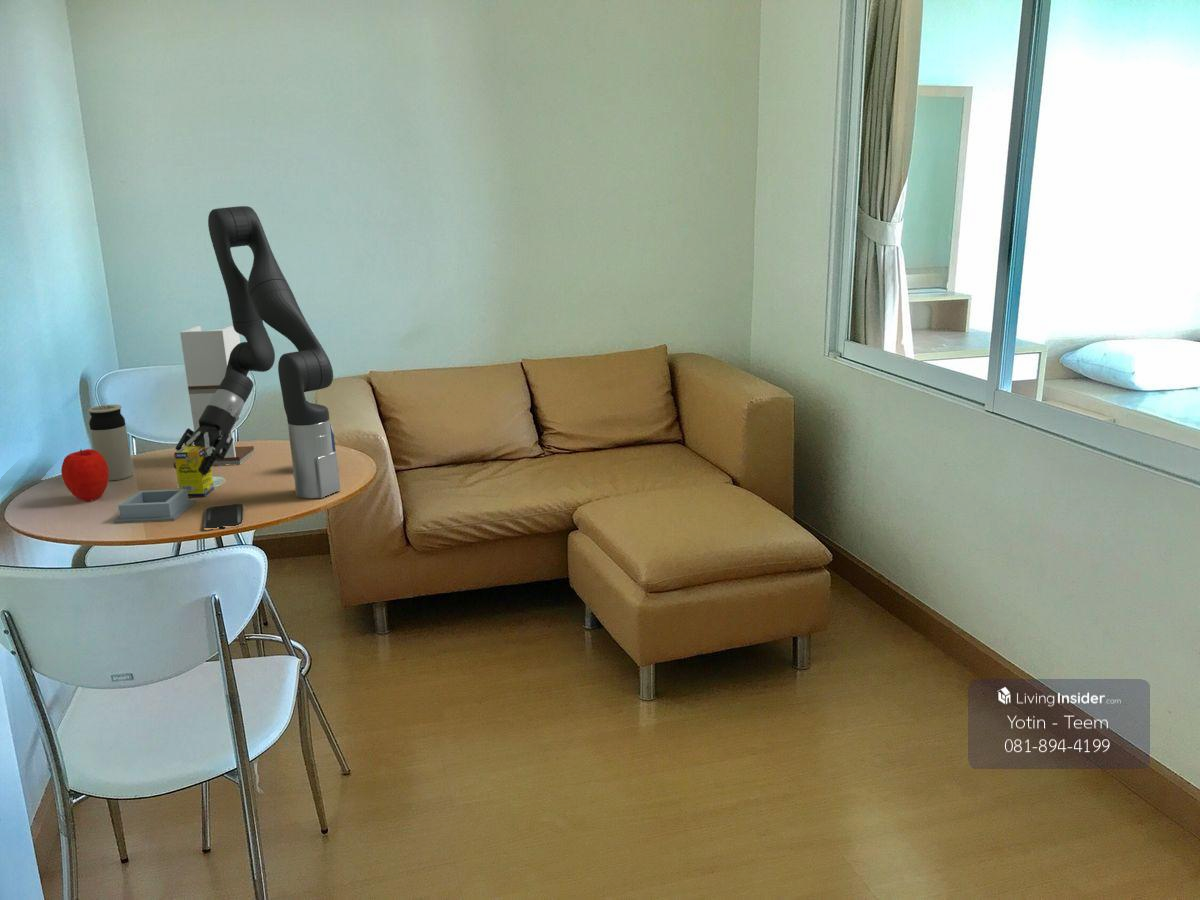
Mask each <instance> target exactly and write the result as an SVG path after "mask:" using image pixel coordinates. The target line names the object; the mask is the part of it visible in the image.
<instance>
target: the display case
mask: <svg viewBox="0 0 1200 900" xmlns="http://www.w3.org/2000/svg"><path fill="white" fill-rule="evenodd" d="M180 341H181V342H180V343H181V348H182V354H183V362H184V369H185V376H186V383H187V384H186V385H187V391H188V397H189V405H190V411H191V416H192V425H193V431H196V430H197V429H198V428H199V419H200V417H201V415H202V413H203V412H204V410H205V408H206V406H207V405H208V403H209V401H210V399H211V398H212V396H213V395H214V394H215V392H216V391H217V389H218V387H219V386H220V384H221V382H222V380H223V379H224V377H225V374H226V369H227V365H228V361H229V357H230V354H231V351H232V350H233V348H234V347H235V346H236V345H238V344H239V343H241V338H240V334H239V333H237V332H236V331H235V330H234V327H233V324H232V325H230V326H228V327H224V328H221V329H220V328H219V329H211V330H202V326H201V325H196V326H193V327H190V328H188V329H185V330H183V331H180ZM239 420H240V416H239V417H238V419H237V421H236V422H235V423H237V422H238V421H239ZM233 433H234V431H233V429H232V430H231V431H230V433H229V436H231V437H232V438H233V442H232V444H231V446H230V447H229V449H228V451H227V453H226V455H225V457H224V459H223V460H220V459H218V460H217V461H215V462H214V463H213V465H221V466H227V465H226V464H240V463H241V462H243V461H244V460H245V459H246V458H248V456H250V455H251V454H252V453H253V452H254V453H255V448H254V445H251V446H250V445H249V446H247V445H246V446H243V445H242V446H235V440H234V434H233ZM221 452H222V449H221V450H220V453H221ZM248 459H249V458H248ZM244 462H245V461H244ZM244 462H243V463H244Z"/></svg>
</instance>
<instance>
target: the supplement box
mask: <svg viewBox="0 0 1200 900" xmlns="http://www.w3.org/2000/svg"><path fill="white" fill-rule="evenodd" d="M184 446H185V445H184ZM184 446H182V447H183V448H182V449H180V450H178V451H177V450H176V451H174V452H173V457H174V463H175V464H176V470H175V471H176V476H177V477H176V479H177V483H178V489H187V492H188V498H196V497H197V498H198V497H199V498H201V497H202V498H203V497H206V496H207V495H208V494H210V492H212V490H213V491H215V487H214V486H215V485H214V478H213V471H212V467H211V468H210V470H209V471H208V473H207V474H206V475H204V474H202V473H200V472H199V471H198V469H199V467H200V465H201V463H202V461H203V460H204V458H205V457H207V451H206V449H205V447H201V446H195V445H193V446H185V447H184Z"/></svg>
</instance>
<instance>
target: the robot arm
mask: <svg viewBox="0 0 1200 900" xmlns="http://www.w3.org/2000/svg"><path fill="white" fill-rule="evenodd" d="M207 223H208V225H207V227H208V231H209V236H210V240H211V245H212V246H213V247H212V248H213V250H214V254H215V257H216V261H217V264H218V267H219V270H220V274H221V277H222V280H223V282H224V286H225V290H226V295H227V298H228V302H229V304H228V305H229V310H230V316H231V320H232V325H233V327H234V330H235V331H236V332H237V333H239V335H241V336H243V337H244V338H245V340H246V341H242V342H241V341H240V343H239V344H238V345H236V346H235V347H234V348H233V350H232V351H231V354H230V357H229V361H228V365H227V369H226V374H225V377H224V379H223V380H222V382H221V384H220V386H219V387H218V389H217V391H216V392H215V394H214V395H213V396H212V398H211V399H210V401H209V403H208V405H207V406H206V408H205V410H204V412H203V413H202V415H201V417H200V419H199V428H198V429H197V430H196V431H194V430H192V429H191V428H186V430H185V431H184V433H183V435H182V436H181V438H180V440H179V441H178V443H177V444H176V446H175V448H174V449H175V450H176V451H178V450H180V449H182V448H183V447H185V446H201V447H205V449H206V451H207V457H205V458H204V460H203V461H202V463H201V465H200V467H199V469H198V471H199V472H200V473H202V474H204V475H206V474H207V473H208V471H209V470H210V468H211V469H212V467H213V466H212V465H213V463H214V462H215V461H217V460H218V459H220V460H223V459H224V457H225V455H226V453H227V451H228V449H229V447H230V446H231V444H232V442H233V438H234V437H233V438H232V437H231V436H229V433H230V431H231V430H233V428H234V426H235V425H236V423H237V422H238V421H237V419H238V417H239V418H240V415H241V413H242V411H243V408H244V405H245V404H246V402H247V399H248V398H249V397H250V395H251V393H252V391H253V388H254V382H253V380H252V379H251V378H250V377H249V376H248V373H249V372H261V373H264V372H268V371H269V370H271V368H273V366H274V363H275V359H276V352H275V348H274V345H273V344H272V340H271V338H270V336H269V334H268V331H267V328H266V327H265V325H264V323H266V324H267V325H268V326H270V328H272V329H273V330H275V331H276V332H277V333H279V334H281V335H282V336H283V337H285V338H286V339H287V340H288V341H290V342H291V344H292V345H294V347H295V348H296V349H297V351H291V352H288V353H287V352H285V353H283V354H282V355H281V356H280V357H279V360H278V365H277V372H278V378H279V386H280V389H281V396H282V401H283V409H284V412H285V415H286V420H287V428H288V429H287V430H288V435H289V437H288V438H289V446H290V452H291V453H290V454H291V463H292V471H293V478H294V487H295V489H294V490H295V495H296V497H298V498H300V499H324V498H326V497H325V496H327V495H329V494H331V493H333V492H336V491H338V490H340V491H341V484H340V475H339V466H338V465H339V463H338V456H337V452H333V448H332V439H331V429H330V424H331V422H330V412H329V408H328V407H327V406H325V405H322V404H318V403H313V402H309V401H308V400H307V399H306V396H305V393H309V392H314V391H319V390H323V389H326V388H329V387H330V386H331V385H332V383H333V381H334V370H333V366H332V364H331V360H330V359H329V357H328V355H327V352H326V351H325V350H324V348H323V346H322V345H321V343H320V341H319V339H318V338H317V336H316V335H315V333H314V331H312V329H311V327H310V325H309V324H308V322H307V319H306V318H305V316H304V314H303V312H302V310H301V309H300V305H299V304H298V302H297V300H296V298H295V295H294V293H293V291H292V289H291V287H290V285H289V282H288V281H287V279H286V276H285V275H284V274H283V271H282V269H281V267H280V265H279V263H278V262H277V260H276V258H275V255H274V252H273V251H272V248H271V246H270V243H269V241H268V238H267V235H266V233H265V231H264V227H263V224H262V222H261V219H260V218H259V216H258V214H257V212H256V211H255V210H254V209H253V208H252V207H250V206H248V205H247V206H245V205H241V206H240V205H238V206H231V207H229V206H227V207H218V208H213V209H212V210H211V211H210V212H209V214H208V219H207ZM245 246H247V247H249V248H250V250H251V252H252V254H253V261H252V265H251V266H252V267H251V270H250V273H249V277H248V279H247V278H246V277H245V276H244V274H243V273H242V272H241V270H240V269H239V268H238V266H237V265H236V263H235V261H234V258H233V255H232V250H231V248H238V247H245ZM236 421H237V422H236ZM193 444H194V445H193ZM221 449H222V452H221V453H220V450H221ZM173 468H174V469H176V464H175V462H174V463H173ZM329 496H330V495H329ZM323 497H324V498H323ZM327 497H328V496H327Z"/></svg>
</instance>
